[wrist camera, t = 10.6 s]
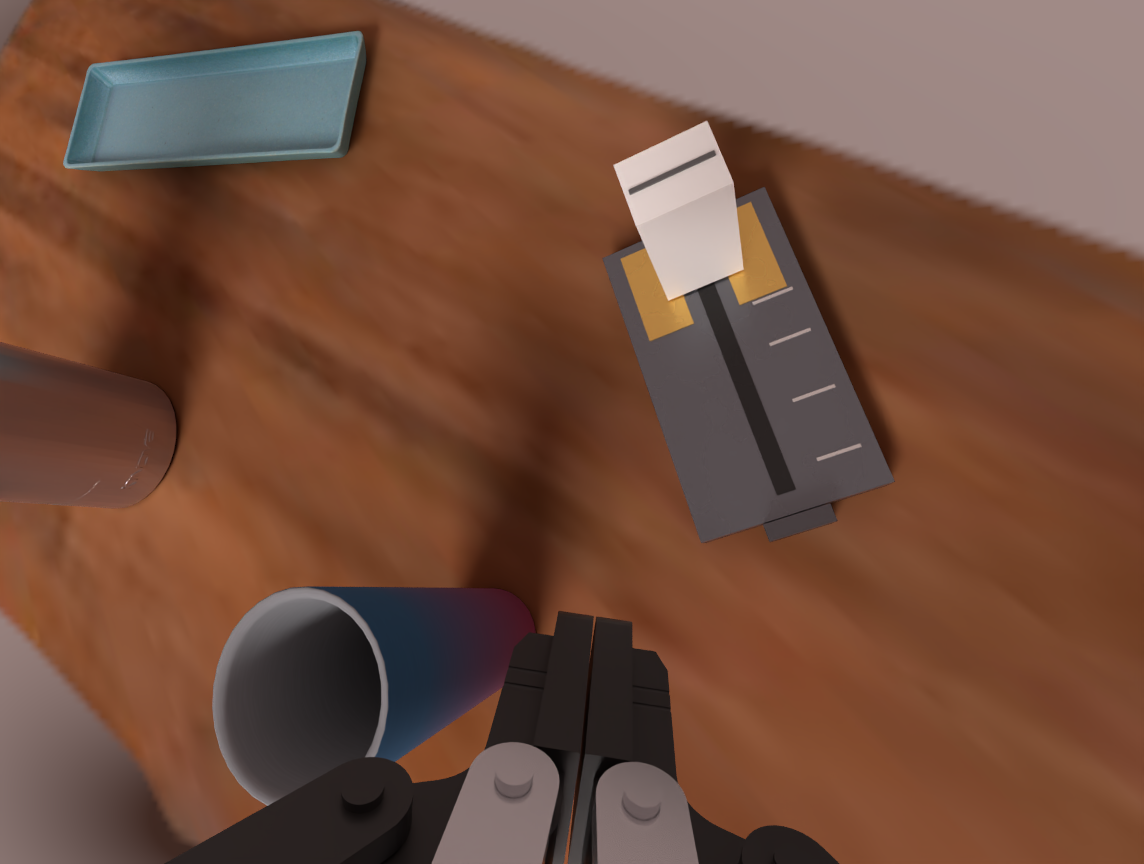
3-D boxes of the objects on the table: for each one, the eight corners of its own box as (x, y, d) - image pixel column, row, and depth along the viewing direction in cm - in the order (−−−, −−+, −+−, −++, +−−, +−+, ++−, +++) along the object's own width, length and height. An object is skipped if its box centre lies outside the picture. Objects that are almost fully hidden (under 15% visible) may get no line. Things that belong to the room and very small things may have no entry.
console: (896, 503, 29) (908, 498, 27) (710, 560, 31) (704, 561, 29) (759, 188, 34) (757, 158, 31) (605, 256, 36) (591, 234, 33)
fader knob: (743, 269, 32) (733, 181, 24) (668, 300, 33) (635, 225, 25) (722, 219, 32) (706, 118, 25) (649, 251, 33) (612, 163, 26)
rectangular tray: (381, 50, 45) (359, 22, 42) (357, 169, 44) (334, 147, 41) (118, 83, 53) (88, 62, 51) (92, 184, 52) (60, 167, 50)
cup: (440, 569, 36) (224, 582, 22) (554, 573, 34) (395, 591, 20) (433, 696, 35) (199, 796, 21) (550, 708, 33) (379, 830, 19)
